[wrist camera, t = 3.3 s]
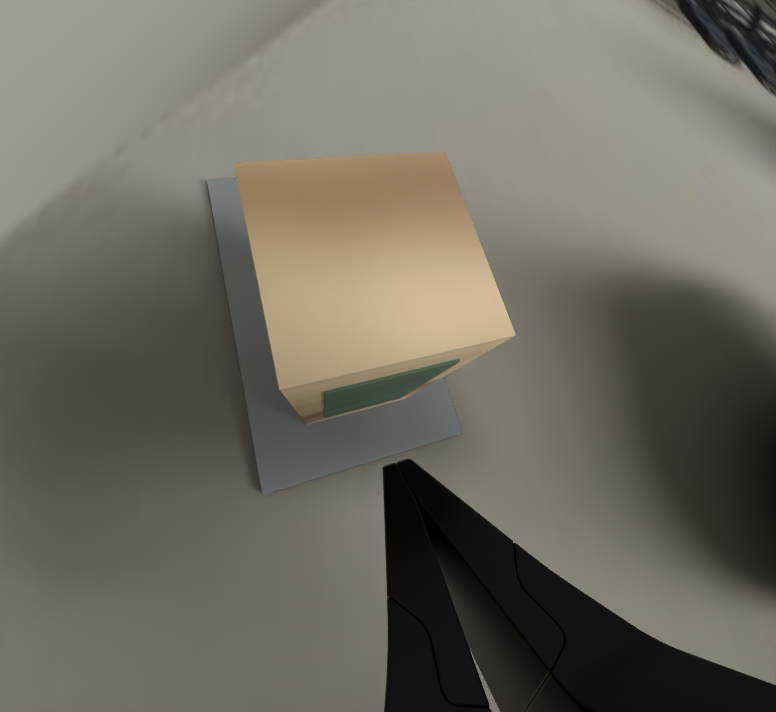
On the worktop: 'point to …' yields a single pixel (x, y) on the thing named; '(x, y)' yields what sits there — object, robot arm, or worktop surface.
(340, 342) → the letter block
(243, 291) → the slate mat
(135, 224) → the worktop surface
